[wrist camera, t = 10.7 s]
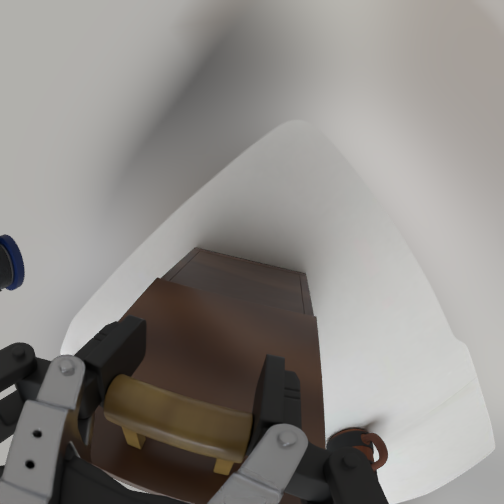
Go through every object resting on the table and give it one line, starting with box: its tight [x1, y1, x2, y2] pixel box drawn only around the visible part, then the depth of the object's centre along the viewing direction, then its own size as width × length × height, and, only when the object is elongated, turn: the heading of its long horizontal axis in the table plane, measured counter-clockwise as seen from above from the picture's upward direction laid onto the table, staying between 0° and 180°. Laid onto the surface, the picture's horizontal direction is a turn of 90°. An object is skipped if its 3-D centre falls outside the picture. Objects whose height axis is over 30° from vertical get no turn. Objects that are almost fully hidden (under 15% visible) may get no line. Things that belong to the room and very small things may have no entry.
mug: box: [326, 429, 388, 479], centre depth 35 cm, size 9×12×12 cm
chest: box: [161, 248, 314, 316], centre depth 31 cm, size 16×14×11 cm
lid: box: [91, 278, 325, 504], centre depth 15 cm, size 17×14×5 cm
